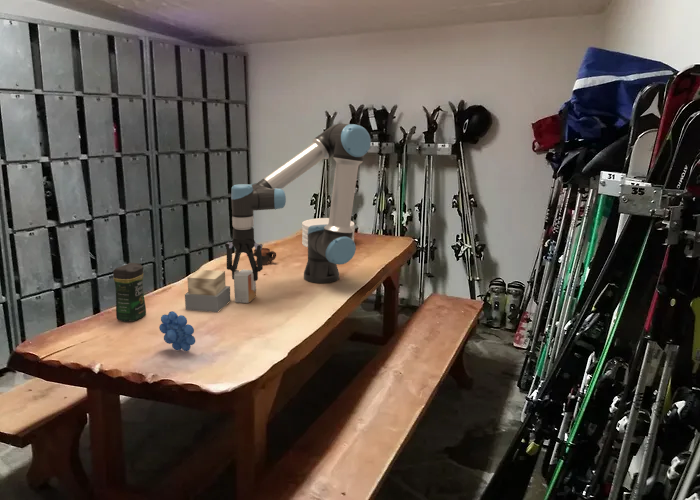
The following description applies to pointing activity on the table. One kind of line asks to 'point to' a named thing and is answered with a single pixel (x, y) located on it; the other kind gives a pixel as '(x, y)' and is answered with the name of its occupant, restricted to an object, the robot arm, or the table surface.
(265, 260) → the pottery mug
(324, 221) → the plate stack
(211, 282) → the block top
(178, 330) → the grapes
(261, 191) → the robot arm
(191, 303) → the block base
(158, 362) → the table surface
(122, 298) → the coffee jar
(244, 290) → the small box
